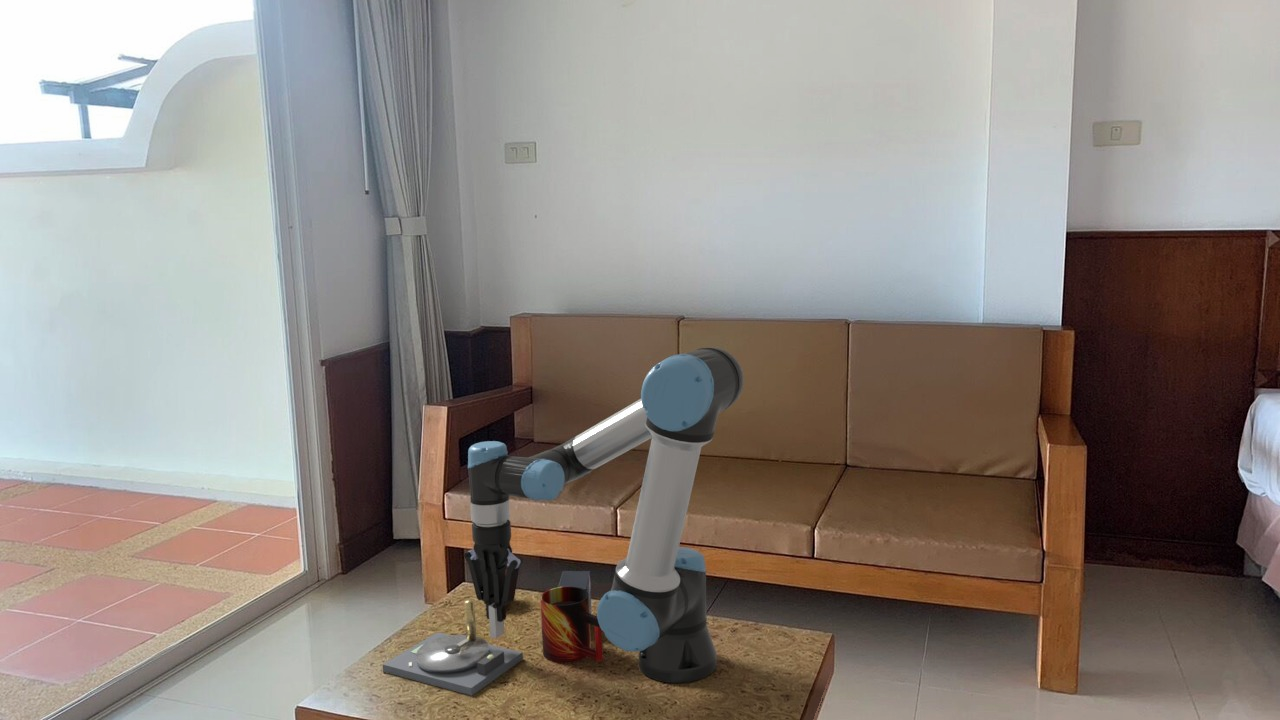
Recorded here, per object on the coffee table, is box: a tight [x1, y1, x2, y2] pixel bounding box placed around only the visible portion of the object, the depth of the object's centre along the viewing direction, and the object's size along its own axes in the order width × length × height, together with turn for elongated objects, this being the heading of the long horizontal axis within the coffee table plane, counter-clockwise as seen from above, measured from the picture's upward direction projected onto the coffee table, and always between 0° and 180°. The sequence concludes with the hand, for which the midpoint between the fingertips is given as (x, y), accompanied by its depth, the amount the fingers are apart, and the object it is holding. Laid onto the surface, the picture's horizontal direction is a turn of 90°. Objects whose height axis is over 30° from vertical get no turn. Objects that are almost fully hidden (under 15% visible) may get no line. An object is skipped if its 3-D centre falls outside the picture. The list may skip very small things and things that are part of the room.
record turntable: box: [382, 631, 524, 697], centre depth 183 cm, size 22×16×4 cm
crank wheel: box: [416, 598, 489, 673], centre depth 182 cm, size 14×14×9 cm
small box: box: [557, 570, 592, 614], centre depth 199 cm, size 11×6×10 cm, turn 179°
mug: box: [539, 586, 604, 664], centre depth 186 cm, size 10×14×12 cm
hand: (497, 635), depth 184 cm, fingers closed
